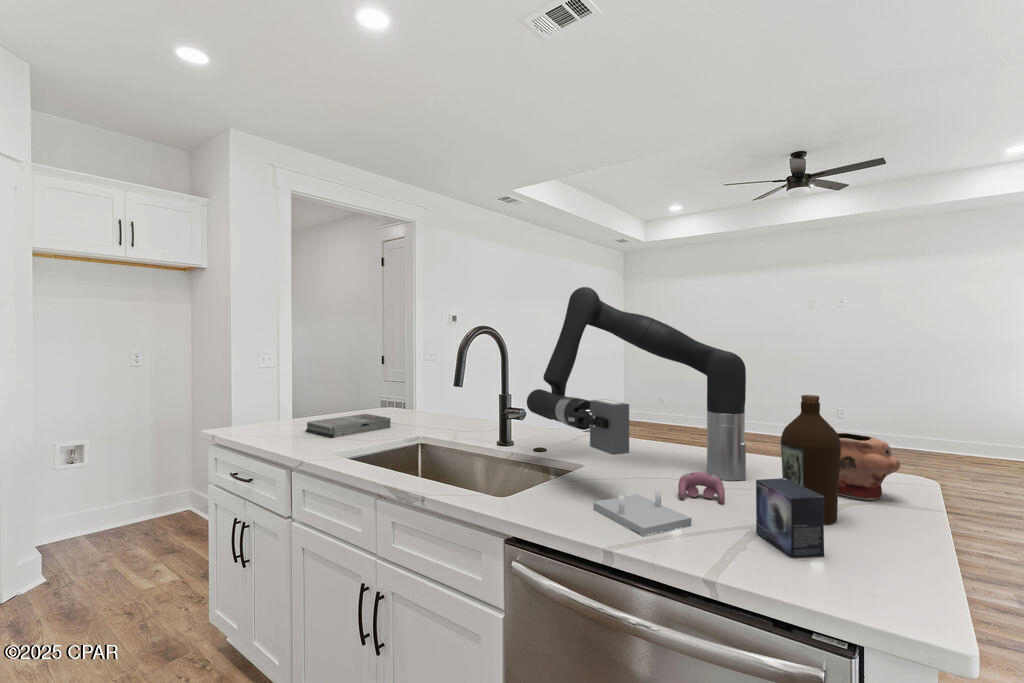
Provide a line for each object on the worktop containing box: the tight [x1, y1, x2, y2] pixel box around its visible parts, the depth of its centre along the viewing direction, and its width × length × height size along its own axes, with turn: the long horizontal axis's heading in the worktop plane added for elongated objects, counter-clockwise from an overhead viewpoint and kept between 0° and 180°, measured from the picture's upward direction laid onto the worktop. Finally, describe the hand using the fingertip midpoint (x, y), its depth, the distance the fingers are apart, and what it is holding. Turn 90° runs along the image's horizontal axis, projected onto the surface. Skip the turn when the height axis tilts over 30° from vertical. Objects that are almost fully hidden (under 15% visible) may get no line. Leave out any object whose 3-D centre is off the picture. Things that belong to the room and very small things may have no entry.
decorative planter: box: [837, 432, 901, 501], centre depth 116 cm, size 20×12×14 cm, turn 48°
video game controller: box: [677, 471, 726, 505], centre depth 112 cm, size 10×5×7 cm, turn 72°
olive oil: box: [780, 394, 841, 525], centre depth 101 cm, size 11×11×25 cm
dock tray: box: [593, 488, 692, 536], centre depth 100 cm, size 16×12×5 cm
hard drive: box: [305, 413, 391, 439], centre depth 195 cm, size 18×27×4 cm
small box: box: [755, 477, 825, 559], centre depth 87 cm, size 11×6×10 cm, turn 5°
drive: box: [589, 399, 630, 456], centre depth 112 cm, size 9×4×11 cm, turn 25°
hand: (616, 423), depth 110 cm, fingers closed on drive, 4 cm apart
